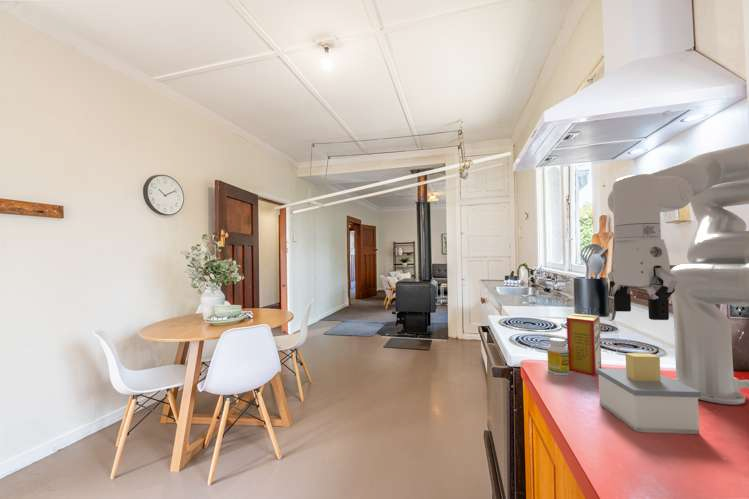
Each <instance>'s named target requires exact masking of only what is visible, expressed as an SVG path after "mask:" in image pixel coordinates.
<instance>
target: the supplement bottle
mask: <svg viewBox="0 0 749 499" xmlns="http://www.w3.org/2000/svg"><path fill="white" fill-rule="evenodd" d="M566 343H567V342H566V339H564V338H561V337H549V345H548V346H547V351H546V352H547V371H548V372H549V373H551V374H552V375H553V374H554V375H557V376H568V375H570V371H569V351H568V346H566Z"/></svg>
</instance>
